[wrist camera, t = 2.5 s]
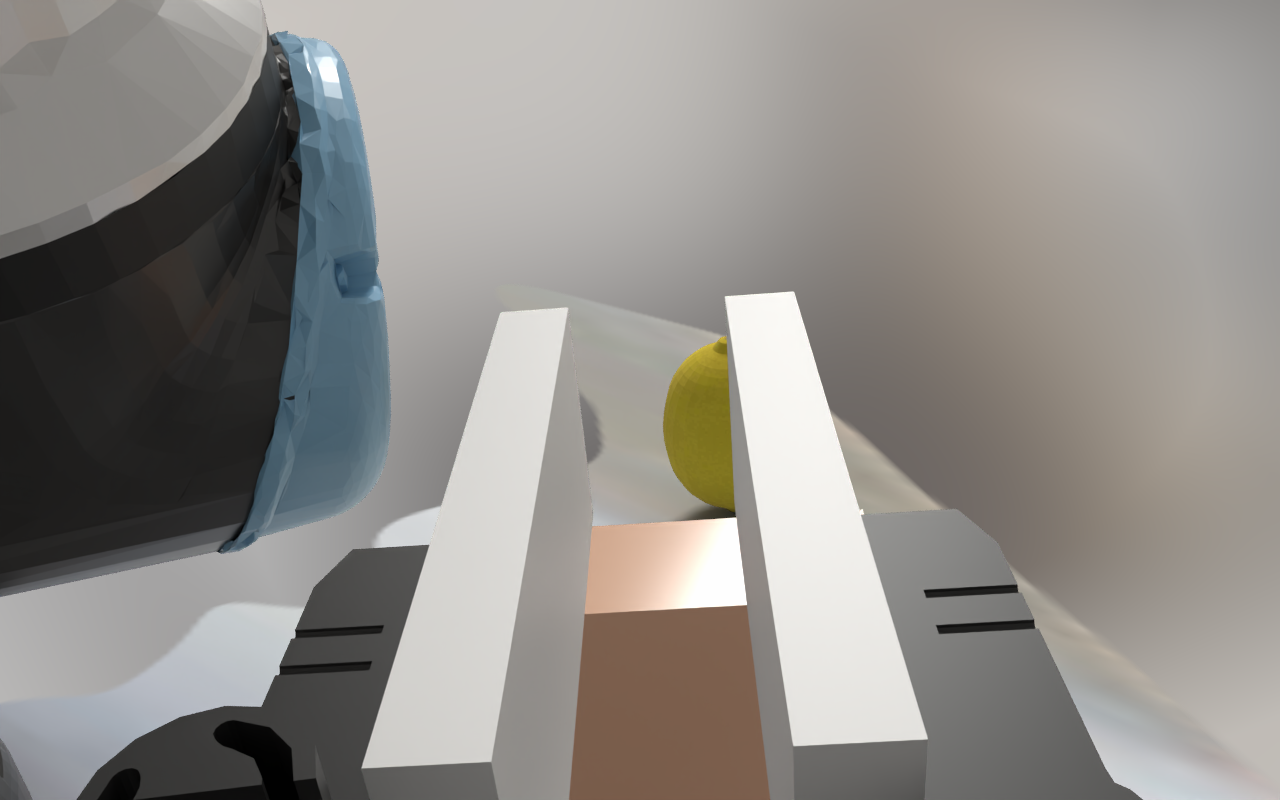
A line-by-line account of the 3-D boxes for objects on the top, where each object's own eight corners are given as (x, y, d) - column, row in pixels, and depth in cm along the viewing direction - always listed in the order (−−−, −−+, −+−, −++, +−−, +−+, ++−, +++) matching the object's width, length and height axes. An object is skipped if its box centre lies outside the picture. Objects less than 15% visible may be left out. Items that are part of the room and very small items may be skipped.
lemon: (824, 527, 44) (824, 351, 41) (697, 562, 43) (685, 382, 39) (768, 463, 49) (763, 299, 45) (652, 492, 48) (637, 325, 44)
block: (553, 996, 27) (481, 620, 22) (562, 879, 30) (502, 521, 25) (875, 983, 27) (888, 596, 21) (852, 866, 30) (859, 499, 24)
